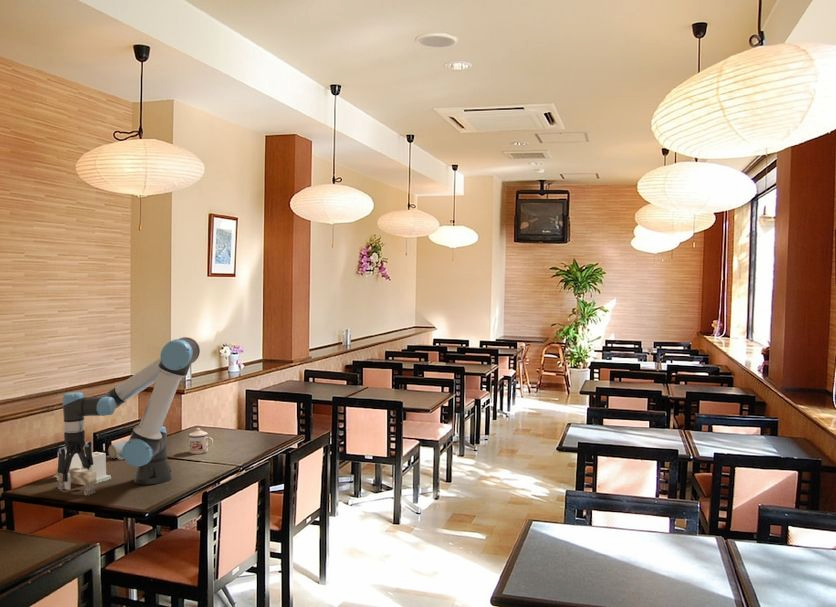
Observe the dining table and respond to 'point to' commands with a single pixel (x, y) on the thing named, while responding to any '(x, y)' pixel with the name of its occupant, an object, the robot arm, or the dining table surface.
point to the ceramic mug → (116, 450)
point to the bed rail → (79, 479)
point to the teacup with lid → (199, 442)
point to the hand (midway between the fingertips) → (76, 486)
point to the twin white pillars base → (97, 466)
